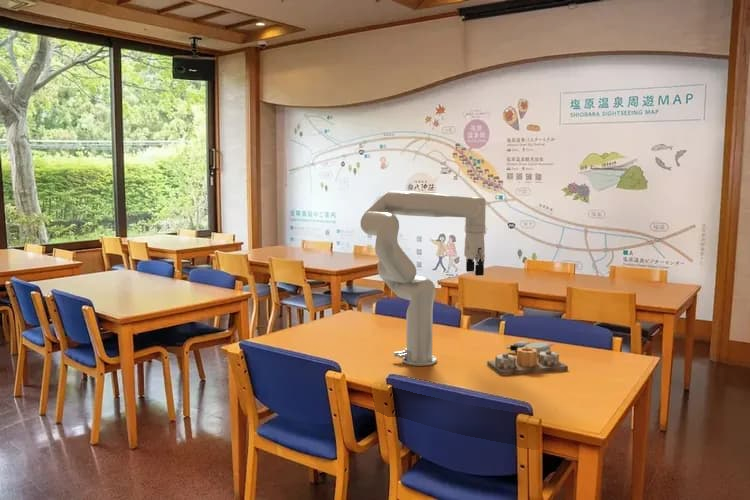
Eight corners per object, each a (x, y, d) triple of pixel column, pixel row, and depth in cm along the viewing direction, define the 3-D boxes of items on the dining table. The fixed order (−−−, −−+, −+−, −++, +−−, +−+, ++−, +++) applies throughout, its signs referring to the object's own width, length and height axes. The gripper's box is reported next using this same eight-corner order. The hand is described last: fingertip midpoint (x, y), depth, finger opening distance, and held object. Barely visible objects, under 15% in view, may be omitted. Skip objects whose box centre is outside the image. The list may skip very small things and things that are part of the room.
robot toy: (504, 355, 237) (537, 360, 226) (503, 343, 237) (536, 348, 226) (523, 349, 245) (556, 354, 234) (523, 338, 245) (555, 342, 233)
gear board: (500, 375, 210) (500, 359, 209) (487, 365, 222) (487, 350, 221) (567, 370, 215) (568, 355, 214) (551, 360, 227) (551, 345, 226)
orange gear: (521, 367, 214) (522, 353, 214) (513, 361, 221) (513, 347, 220) (540, 365, 216) (540, 351, 215) (531, 360, 222) (531, 346, 222)
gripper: (458, 227, 244) (458, 270, 246) (474, 231, 227) (473, 277, 229) (476, 227, 245) (475, 269, 247) (493, 231, 228) (492, 276, 230)
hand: (474, 273), depth 238 cm, fingers open, 9 cm apart
